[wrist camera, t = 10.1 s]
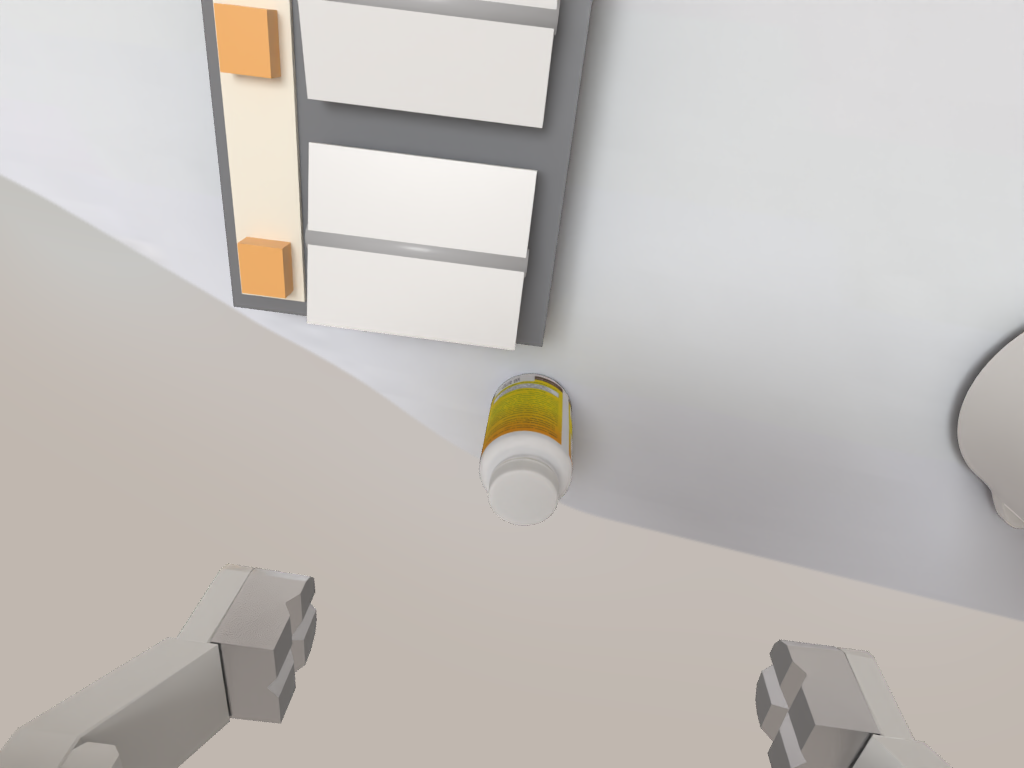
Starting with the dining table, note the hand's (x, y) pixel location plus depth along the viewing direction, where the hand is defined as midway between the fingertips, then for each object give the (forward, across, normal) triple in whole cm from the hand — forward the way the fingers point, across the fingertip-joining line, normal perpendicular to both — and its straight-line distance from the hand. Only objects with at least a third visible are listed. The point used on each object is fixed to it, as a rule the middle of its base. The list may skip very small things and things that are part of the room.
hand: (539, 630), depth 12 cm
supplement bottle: (+31, 0, +14) cm, 34 cm away
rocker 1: (+24, +7, -10) cm, 27 cm away
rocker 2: (+24, +7, +2) cm, 25 cm away
